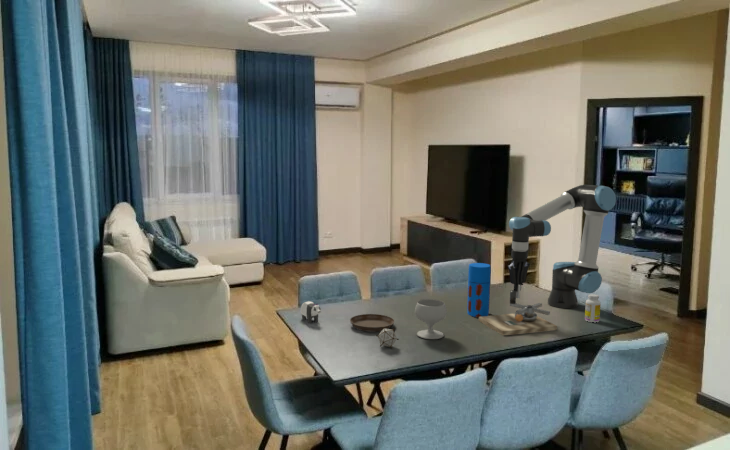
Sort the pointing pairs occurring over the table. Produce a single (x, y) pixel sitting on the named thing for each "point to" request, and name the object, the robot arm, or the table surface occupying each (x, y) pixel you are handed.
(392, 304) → the table surface
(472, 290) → the thermos
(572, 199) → the robot arm
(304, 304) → the giant panda
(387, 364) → the table surface
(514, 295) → the grey cross
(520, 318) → the ball
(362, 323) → the plant saucer
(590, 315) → the supplement bottle
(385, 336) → the game die
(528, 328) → the stand base
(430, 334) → the chalice
